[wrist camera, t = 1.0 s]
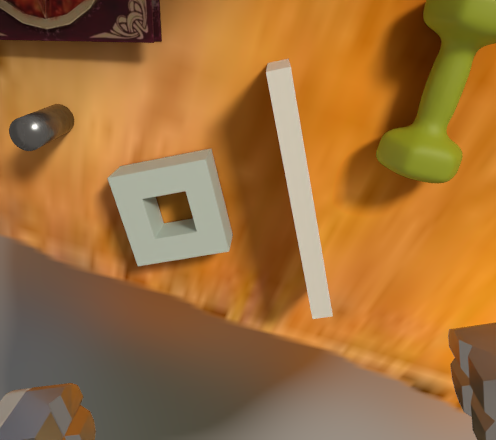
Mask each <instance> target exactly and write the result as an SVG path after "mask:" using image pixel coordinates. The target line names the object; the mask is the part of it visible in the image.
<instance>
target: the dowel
mask: <svg viewBox="0 0 496 440" xmlns="http://www.w3.org/2000/svg"><path fill="white" fill-rule="evenodd" d="M73 126H74V117H73V114H72V112H71V111H70V110H69V109H68V108H67V107H65V106H63V105H60V104H54V105H51V106H49V107H46V108H44V109H41V110H38V111H36V112H33V113H30V114H28V115H25V116H23V117H20V118H17V119H15V120H14V121H13V122H12V123H11V125H10V128H9V134H10V137H11V139H12V141H13V143H14V144H15V145H16V146H17V147H19V148H20V149H23V150H26V151H33V150H36V149H38V148H39V147H41V146H43V145H45V144H47V143H49V142H51V141H52V140H54V139H56V138H58V137H60V136H62V135H64V134H65V133H67V132H69V131H70V130H71V129H72V128H73Z"/></svg>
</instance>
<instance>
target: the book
mask: <svg viewBox="0 0 496 440" xmlns="http://www.w3.org/2000/svg"><path fill="white" fill-rule="evenodd" d="M0 40H40V41H92V42H144V43H154V41H162V40H161V21H160V3H159V0H0Z"/></svg>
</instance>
